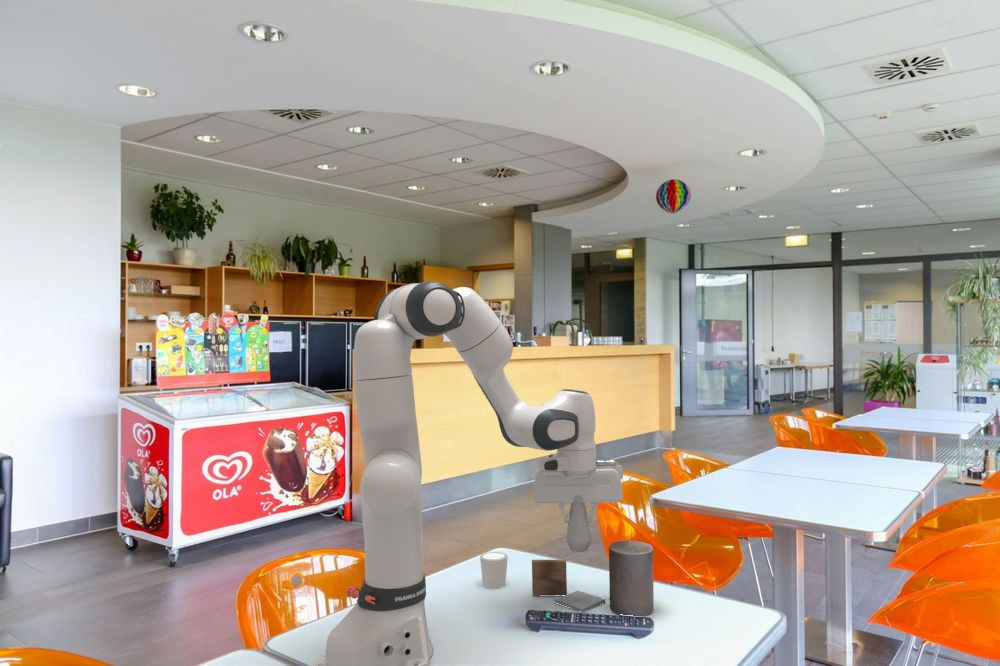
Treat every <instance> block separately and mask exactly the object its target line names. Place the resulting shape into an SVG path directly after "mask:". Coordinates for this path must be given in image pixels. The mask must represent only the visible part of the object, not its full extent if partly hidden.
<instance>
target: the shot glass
mask: <svg viewBox="0 0 1000 666" xmlns="http://www.w3.org/2000/svg"><path fill="white" fill-rule="evenodd" d="M479 558H480V568H481V569H480V570H481V579H482V586H483V587H484V588H487V589H492V590H493V588H495V589H501V587H502V588H504V587H505V586H506V585H507V570H508V554H506V553H503V552H501V551H500V552H498V551H494V552H493V551H491V552H485V553H482V554H481V555H479Z"/></svg>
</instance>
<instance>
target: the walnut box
mask: <svg viewBox="0 0 1000 666" xmlns="http://www.w3.org/2000/svg"><path fill="white" fill-rule="evenodd" d="M531 574H532V575H531V579H532V580H531V584H532V585H531V586H532V588H531V589H532V590H531V591H532V597H541V596H540V595H568V586H567V585H568V582H567V581H568V580H567V559H532V560H531Z"/></svg>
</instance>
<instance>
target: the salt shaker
mask: <svg viewBox="0 0 1000 666" xmlns="http://www.w3.org/2000/svg"><path fill="white" fill-rule="evenodd" d="M569 513H570V522H569V523H567V528H566V534H565V540H566V543H567V546H568V548H569V550H570V551H572V552H576V553H583V552H588V549H589V547H590V545H591V543H592V540H593V539H592V534H591V530H590V525H589V523H590V522H587V517H586V514H587V513H588V512H587V508H586V503H584V502H583V497H582V496H580V495H576V496H574V501H573V503H570V508H569Z"/></svg>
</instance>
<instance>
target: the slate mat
mask: <svg viewBox="0 0 1000 666" xmlns="http://www.w3.org/2000/svg"><path fill="white" fill-rule="evenodd" d="M555 602H556V603H559V604H561V605H564V606H567V607H570V608H572V609H571V610H573V609H574V610H573V611H576V612H579V611H581V612H580V613H582V612H583V613H585V612H587V610H588V611H590V610H592V609H594V608H596V607H595V606H597V607H599V606H601V605H603V604H605V603H606V599H605V598H602V597H599V596H596V595H593V594H589V593H587V592H583V591H581V590H575V591H573V592H571V593H567V595H565V596H559V597H557V598H556V599H554V603H555ZM556 603H555V604H556ZM602 603H603V604H602ZM600 604H601V605H600ZM561 605H560V606H561ZM598 605H599V606H598ZM564 606H563V607H564ZM567 607H566V608H567ZM593 607H594V608H593ZM570 608H569V609H570ZM591 608H592V609H591ZM589 609H590V610H589Z"/></svg>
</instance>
